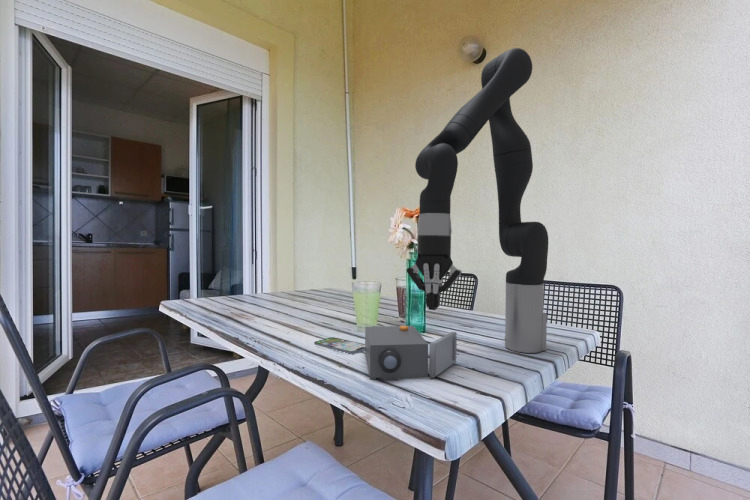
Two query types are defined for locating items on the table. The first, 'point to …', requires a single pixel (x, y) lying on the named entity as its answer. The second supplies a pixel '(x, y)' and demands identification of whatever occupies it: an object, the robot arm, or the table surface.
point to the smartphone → (341, 345)
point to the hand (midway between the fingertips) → (432, 309)
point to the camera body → (395, 352)
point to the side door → (442, 354)
